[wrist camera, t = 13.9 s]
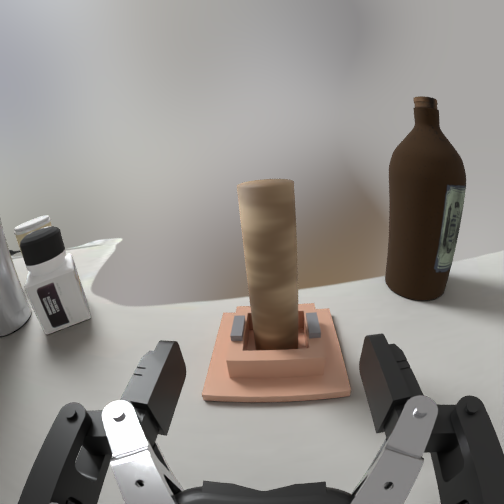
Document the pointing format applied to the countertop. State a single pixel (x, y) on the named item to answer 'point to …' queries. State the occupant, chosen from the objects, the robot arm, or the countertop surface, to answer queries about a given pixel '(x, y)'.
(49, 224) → the coffee cup
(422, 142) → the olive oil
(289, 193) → the tall wooden cylinder
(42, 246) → the container
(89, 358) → the countertop surface
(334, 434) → the countertop surface
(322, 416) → the countertop surface
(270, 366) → the clip base
